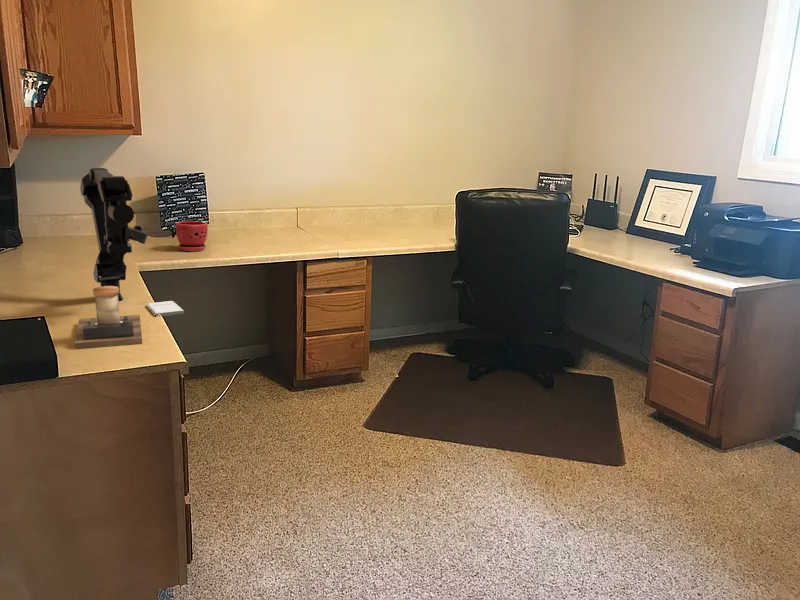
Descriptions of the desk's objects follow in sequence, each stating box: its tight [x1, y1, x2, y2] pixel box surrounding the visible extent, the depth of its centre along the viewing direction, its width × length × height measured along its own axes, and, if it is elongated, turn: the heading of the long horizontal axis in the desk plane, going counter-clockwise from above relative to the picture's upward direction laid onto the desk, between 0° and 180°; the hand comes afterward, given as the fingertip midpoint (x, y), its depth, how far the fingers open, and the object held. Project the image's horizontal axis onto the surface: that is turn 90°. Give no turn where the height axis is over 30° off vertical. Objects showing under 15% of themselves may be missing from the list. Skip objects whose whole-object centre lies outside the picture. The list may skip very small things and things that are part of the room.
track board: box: [74, 314, 143, 350], centre depth 187 cm, size 22×16×2 cm
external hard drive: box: [146, 300, 185, 317], centre depth 210 cm, size 2×8×12 cm
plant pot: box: [175, 220, 209, 252], centre depth 299 cm, size 13×13×12 cm
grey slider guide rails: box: [83, 315, 134, 340], centre depth 186 cm, size 17×12×3 cm
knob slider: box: [92, 286, 123, 325], centre depth 183 cm, size 7×7×11 cm
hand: (119, 271), depth 206 cm, fingers closed
